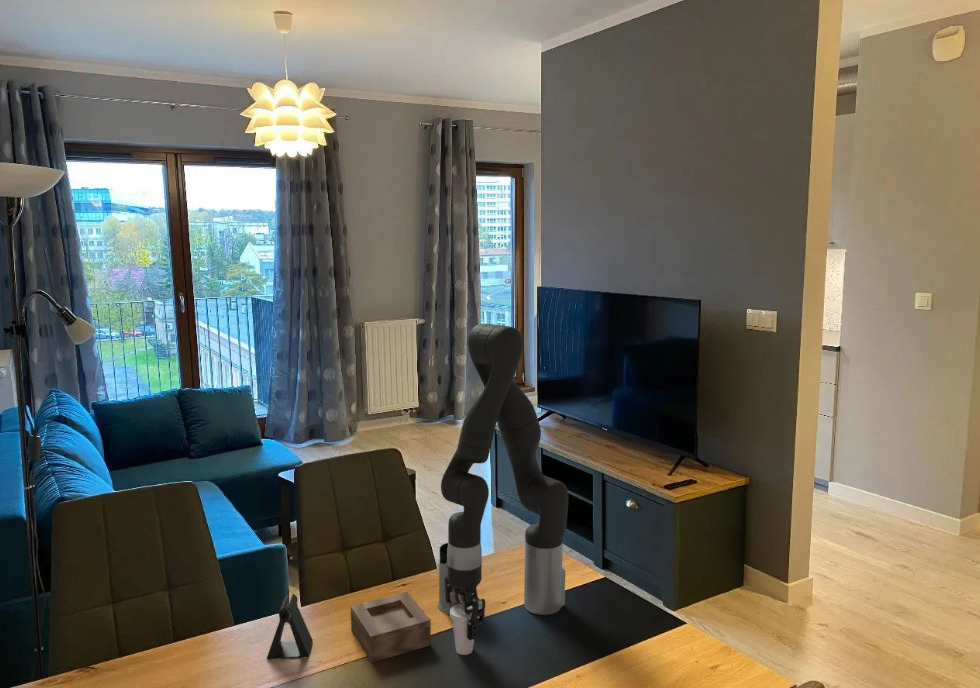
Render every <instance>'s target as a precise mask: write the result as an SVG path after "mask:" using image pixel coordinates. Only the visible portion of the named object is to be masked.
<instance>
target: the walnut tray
mask: <svg viewBox="0 0 980 688" xmlns="http://www.w3.org/2000/svg"><path fill="white" fill-rule="evenodd" d="M431 620H432V619H430V618H429V616H428V614H426V613H425V612H424V610H423V609H422V608H421V607H420V605H419V604H418V603H417V601H415V600H414V598H413V597H412V596H411V595H410V594H409V592H408V591H405V592H400V593H397V594H392V595H388V596H385V597H381V598H377V599H374V600H369V601H366V602H361V603H357V604H353V605H350V630H351V631H350V632H352V634H353V636H354V637H355V639H356V641H357V642H358V643H359V645H360V647H361V648H362V650H363V651H365V652H364V653H365V655H366V656H367V658H368V659H369V661H370V663H375V662H378V660H379V661H382V660H385V658H386V659H389V658H393V657H395V656H396V657H397V656H398V655H403V654H406V653H409V651H410V652H414V651H415V650H420V649H423V648H426V647H430V646H431V644H432V642H431V641H432V638H431V637H432V635H431V632H432V631H431V629H432V628H431V625H432V623H431V622H432V621H431ZM388 657H389V658H388ZM381 659H382V660H381Z"/></svg>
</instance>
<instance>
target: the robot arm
mask: <svg viewBox="0 0 980 688" xmlns="http://www.w3.org/2000/svg"><path fill="white" fill-rule="evenodd" d="M467 347H468V353H469V356H470V357H469V358H470V359H471V361H472V364H473V366H474V368H475V370H476V372H477V374H478V377H479V378H480V380H481V382H482V385H483V387H484V389H483V390H482V392H481V393H480V394H479V396H478V398H477V399H476V400H475V401H474V403H473V404H472V406H471V407H470V408H469V410H468V412H467V413H466V415H465V417H464V418H463V423H462V426H461V431H460V435H459V439H458V443H457V447H456V451H455V452H454V454H453V456H452V458H451V459H450V462H449V464H448V465H447V467H446V469H445V472H444V473H443V475H442V479H441V482H440V491H441V494H442V497H443V498H444V499H445V500H446V501H448V502H450V503H453V504H456V505H457V506H462V507H463V511H459V512H455V513H453V514H452V515H451V516H450V517H449V519H448V526H447V527H448V530H447V533H448V535H447V537H448V539H447V540H448V542H447V543H448V549H447V577H445V593H446V602H447V603H450V608H452V607H453V606H454V605H456V604H459V603H460V604H461V606H462V611H463V614H465V615H466V619H467V638H468V639H469V640H473V639H474V640H475V639H477V637H478V626H479V625H483V624H484V623H485V612H486V611H485V610H486V600H485V598H479V597H478V596H479V594H478V591H477V588H478V585H479V584H480V583H481V582H482V573H483V571H482V569H483V566H482V564H483V561H482V557H483V556H482V552H483V550H482V544H481V541H482V539H481V537H482V535H481V534H482V531H481V530H482V529H481V528H482V527H481V526H482V525H481V524H482V521H483V518H484V514H485V510H486V506H487V503H488V500H489V495H490V488H489V485H488V483H487V480H485V478H484V477H482V476H480V475H477V474H473V473H470V472H469V471H470V469H471V468H472V466H473V465H474V464H485V463H486V462H487V461H488V459H489V458H490V457H489V456H490V453H491V452H490V451H491V448H492V443H493V440H494V434H495V430H496V427H498V430H499V433H500V435H501V438H502V441H503V444H504V446H505V449H506V452H507V455H508V458H509V462H510V465H511V469H512V473H513V476H514V482H515V487H516V491H517V496H518V499H519V502H520V503H521V505H522V506H523V508H525V509H526V510H527V511H529V512H531V513H534V514H537V515H538V516H539V522H536V523H533V524H530V525H529V526H528V527H526V528H525V534H524V539H525V540H524V544H525V545H524V580H523V581H524V586H523V587H524V588H523V589H524V591H523V592H524V594H523V595H524V596H523V605H524V608H525V609H526V610H527V611H528V612H530V613H532V614H534V615H540V616H548V615H554V614H556V613H558V612H559V611H560V610H561V609H562V607H564V606H565V603H566V602H565V601H566V599H565V598H566V569H565V568H563V556H564V555H563V554H564V553H563V552H564V551H563V549H564V535H565V534H566V533H565V532H566V530H567V524H568V523H567V522H568V509H569V492H568V487H567V486H566V484H565V483H564V482H562V481H560V480H557V479H555V478H552V477H549V476H547V475H544V473H542V471H541V469H540V466H539V463H538V460H537V456H536V455H537V451H538V448H539V444H540V442H541V435H542V430H541V426H540V422H539V418H538V415H537V412H536V409H535V407H534V406H533V403H532V401H531V400H530V399H529V398H528V396H527V394H525V392H523V390H522V389H521V388H520V386H519V385H518V384H517V383H516V381H514V377H515V374H516V371H517V368H518V367H519V364H520V360H521V358H522V354H523V349H524V341H523V337H522V334H521V332H520V331H519V330H518V328H515V327H514V326H513V327H512V326H507V325H503V324H502V325H501V324H493V323H480V324H479V323H478V324H477V325H475V326H474V327H473V328H472V329H471V330H470V332H469V335H468V340H467ZM450 592H452V595H451V597H450ZM470 606H472V608H471V609H468V610H467V608H466V607H470ZM470 613H472V619H471V617H470Z"/></svg>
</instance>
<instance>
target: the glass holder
mask: <svg viewBox="0 0 980 688" xmlns="http://www.w3.org/2000/svg"><path fill="white" fill-rule="evenodd" d="M447 549H448V542H445V543H444V544H442V545H441V546H440V547H439V564H438V601H437V605H436V607H437V609H438V610H439V611H440V612H442V613H443V614H447V615H450V609H451V608H450V603H447V602H446V593H445V577H447ZM451 595H452V592H450V597H451Z"/></svg>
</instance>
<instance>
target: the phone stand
mask: <svg viewBox="0 0 980 688" xmlns="http://www.w3.org/2000/svg"><path fill="white" fill-rule="evenodd" d="M289 596H290V595H289V593H288V594H286V595H285V596H284V597H283V601H282V604H281V606H280V609H279V611H278V617H279V622H278V625H277V628H276V630H275V633H274V636H273V639H272V642H271V643H270V644H271V645H270V647H269V651H268V654H267V656H266V659H267V660H286V659H289V658H290V659H305V658H304V657H308V658H309V656H310V653H311V649H312V646H313V641H314V640H313V638H312V636H311V633H310V631H309V628H308V626H307V624H306V621H305V619H304V617H303V615H302V613H301V610H300V608H299V606H298V600H299V599H298V596H297V595H296V594H294V593H292V594H291V598H290V601H289V603H288V604H287V602H288V599H289ZM285 624H289V627H290V629H291V632H292V636H293V638H294V640H291V641H281V640H282V636H283V633H284V628H285ZM302 657H303V658H302Z"/></svg>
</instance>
